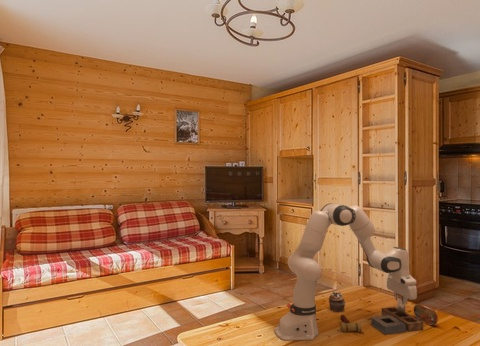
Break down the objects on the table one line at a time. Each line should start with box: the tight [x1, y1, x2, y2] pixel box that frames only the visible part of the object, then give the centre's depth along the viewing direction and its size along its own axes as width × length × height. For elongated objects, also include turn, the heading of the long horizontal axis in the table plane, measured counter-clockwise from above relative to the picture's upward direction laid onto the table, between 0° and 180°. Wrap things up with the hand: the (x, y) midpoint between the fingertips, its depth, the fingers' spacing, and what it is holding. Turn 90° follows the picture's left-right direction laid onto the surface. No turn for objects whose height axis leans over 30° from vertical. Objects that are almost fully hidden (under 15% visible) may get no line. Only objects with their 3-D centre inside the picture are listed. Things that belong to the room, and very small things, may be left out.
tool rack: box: [381, 306, 424, 333], centre depth 188 cm, size 9×22×4 cm, turn 13°
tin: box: [413, 303, 439, 326], centre depth 188 cm, size 15×3×8 cm, turn 13°
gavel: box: [339, 314, 363, 333], centre depth 187 cm, size 21×5×10 cm
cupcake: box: [328, 291, 346, 313], centre depth 207 cm, size 10×10×10 cm
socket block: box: [370, 315, 407, 335], centre depth 181 cm, size 12×12×4 cm
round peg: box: [396, 294, 406, 317], centre depth 189 cm, size 4×4×11 cm
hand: (401, 302), depth 189 cm, fingers closed on round peg, 4 cm apart
